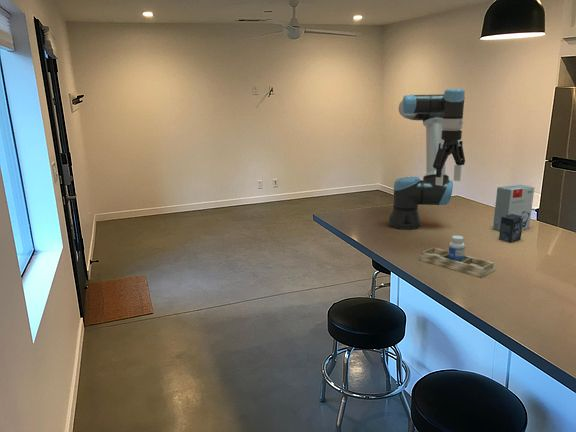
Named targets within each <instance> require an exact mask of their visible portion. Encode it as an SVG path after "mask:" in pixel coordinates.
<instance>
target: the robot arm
mask: <svg viewBox="0 0 576 432" xmlns="http://www.w3.org/2000/svg"><path fill="white" fill-rule="evenodd" d="M465 96H466V95H465V90H464V89H463V88H448V89H445V90H444V93H443V94H440V93H439V94H405V95H403V97H402V100H401V101H400V102H399V105H398V112H399V114H400V116H401V117H403V118H404V119H407V120H411V121H422V125H423V126H424V127H425V131H426V132H425V138H426V141H425V145H426V147H425V149H426V153H425V154H426V156H425V157H426V159H425V161H426V166H425V167H426V170H425V171H426V173H425V175H423V178H422V180H421V179H420V177H419V176H406V177H405V176H404V177H400V178H397V179H396V180H395V181H394V183H393V189H392V190H393V200H392V201H393V202H392V211H391V213H390V216H389V219H388V226H389V227H391V228H394V229H399V230H415V229H419V228H421V224H422V221H421V218H420V214H419V211H418V210H419V206H445V205H448V204H449V203H450V201H451V198H452V194H453V186H454V184H453V183H454V182H453V181H455V182H461V177H462V166H464V165H465V162H466V159H465V153H464V147H463V140H462V137H463V136H462V134H463V131H462V129H463V124H464V121H463V119H464V118H463V117H464V107H465V106H464V105H465V99H466V97H465ZM451 155H452V157H453V158H452V159H453V160H454V162H455V164H454V166H453V167H454V169H453V180H451V179H450V177H449V175H448V174H447V173H446V162H447V159H448V157H449V156H451Z"/></svg>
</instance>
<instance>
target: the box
mask: <svg viewBox="0 0 576 432" xmlns="http://www.w3.org/2000/svg"><path fill="white" fill-rule="evenodd" d="M522 224H523V216H519V215H515V214H510V215H506V216H502V217H501V225H500V231H499V236H498V240H500V241H502V242H507V243H513V242H516V241H520V240H521V239H522V232H523V230H522Z"/></svg>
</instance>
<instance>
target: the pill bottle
mask: <svg viewBox="0 0 576 432" xmlns="http://www.w3.org/2000/svg"><path fill="white" fill-rule="evenodd" d="M465 245H466V244H465V243H464V236H462V235H452V236H451V241H450V242H449V245H448V246H449V247H448V251H449V256H448V259H451V260H455V261H458V262H461V261H463V260H464V255H465V248H466V246H465Z"/></svg>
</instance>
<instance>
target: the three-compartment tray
mask: <svg viewBox="0 0 576 432" xmlns="http://www.w3.org/2000/svg"><path fill="white" fill-rule="evenodd" d="M448 256H449V250H445V249H442V248H438V247H433V246H432V247H430V248H428V249H426V250H423V251H421V252H420V256H419V257H418V260H419V261H421V262H425V263H428V264H431V265H435V266H439V267H442V268H446V269H449V270H453V271H457V272H461V273H464V274H468V275H471V276H475V277H479V278H483V277H486V276H487V275H489V274H491V273H493V272H495V271H496V267H495V262H492V261H488V260H484V259H481V258H478V257H473V256H469V255H465V254H464V260H463V261H461V262H458V261H455V260H451V259H448Z"/></svg>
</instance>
